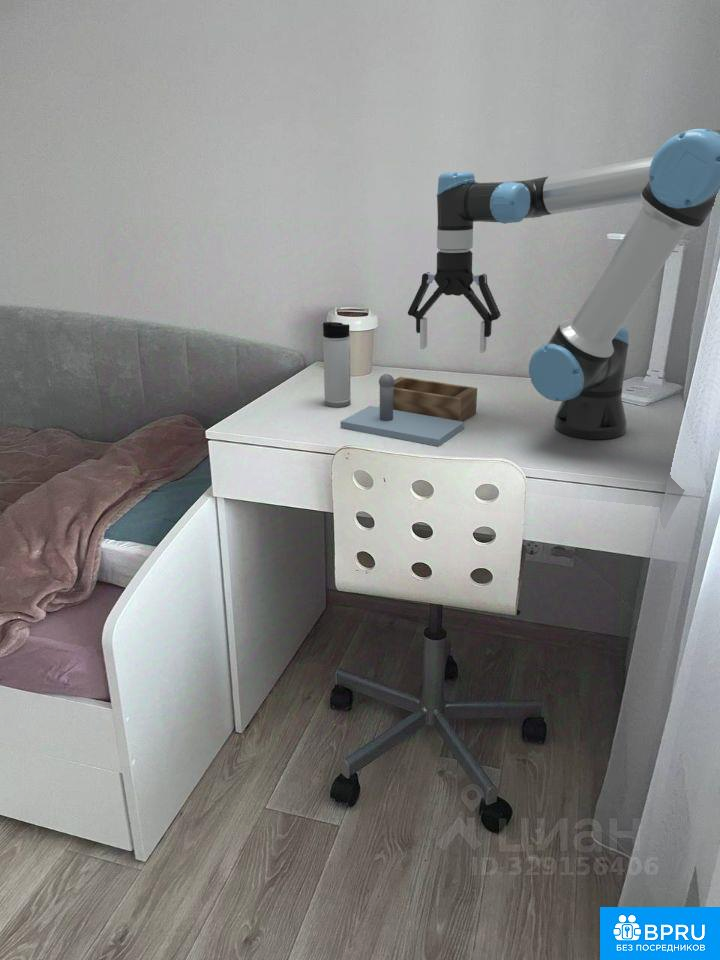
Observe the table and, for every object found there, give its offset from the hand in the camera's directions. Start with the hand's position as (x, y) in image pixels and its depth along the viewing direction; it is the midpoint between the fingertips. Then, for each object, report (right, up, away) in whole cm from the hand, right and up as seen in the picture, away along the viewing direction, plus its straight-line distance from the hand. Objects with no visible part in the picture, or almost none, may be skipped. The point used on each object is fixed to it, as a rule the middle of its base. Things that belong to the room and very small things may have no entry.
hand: (452, 349), depth 176 cm
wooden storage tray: (-5, -13, +10) cm, 17 cm away
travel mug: (-26, -11, +17) cm, 33 cm away
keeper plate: (-11, -17, 0) cm, 21 cm away
